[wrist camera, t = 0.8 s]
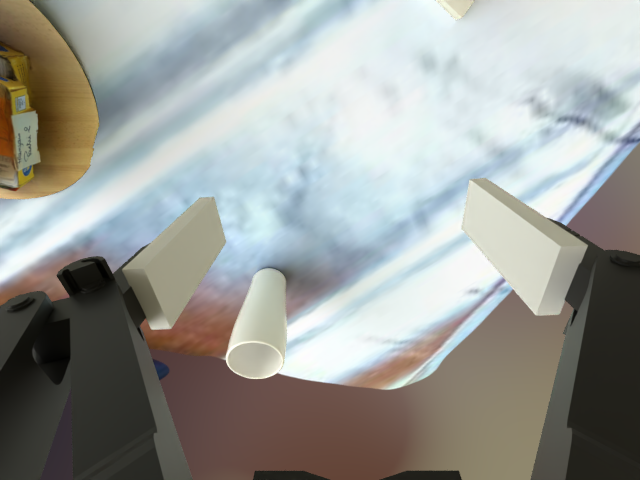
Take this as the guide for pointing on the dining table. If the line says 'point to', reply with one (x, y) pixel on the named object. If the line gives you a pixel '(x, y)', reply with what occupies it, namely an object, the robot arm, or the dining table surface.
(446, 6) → the box holder
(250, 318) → the drinking glass
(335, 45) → the dining table surface
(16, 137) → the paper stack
